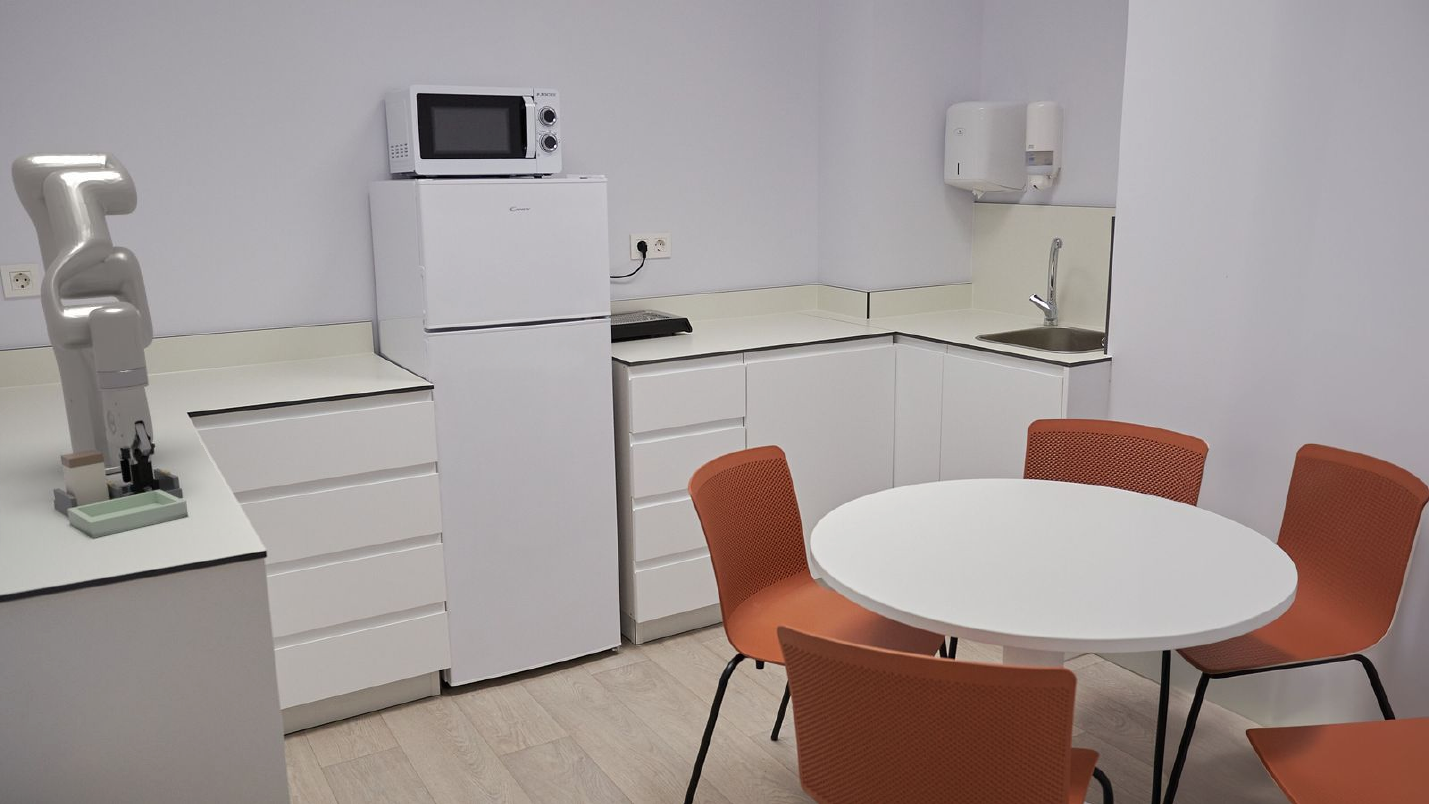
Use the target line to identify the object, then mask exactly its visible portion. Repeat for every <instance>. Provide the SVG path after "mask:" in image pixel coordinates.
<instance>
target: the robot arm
mask: <svg viewBox="0 0 1429 804" xmlns="http://www.w3.org/2000/svg"><path fill="white" fill-rule="evenodd" d="M10 171H11V179H12V183H13V186H14V190H15V193H16V194H17V197H18V199H19V201H20V204H21V205H22V206H23V209H24V210H25V212H26V213H27V215H28V216H29V219H30V220H31V221H32V223H33V227H35V232H36V234H37V235H36V236H37V239H38V240H37V241H38V245H39V251H40V255H41V260H42V265H43V270H44V276H43V277H42V281H41V286H40V302H41V308H42V311H43V316H44V320H45V324H46V329H47V336H48V339H49V342H50V345H51V347H52V351H53V354H54V356H55V360H56V364H57V367H58V372H59V376H60V382H61V387H62V393H63V399H64V406H65V412H66V419H67V425H68V430H69V438H70V442H71V449H72V453H78V452H83V451H89V450H96V451H99V452H101V453H103V458H104V467H105V474H106V475H110V474H116V473H120V472H121V476H122V481H123V483H125V484H127V483H131V481H132V480H133V483H132V484H133V486H134V487H136V488H138V487H143V486H147V485H152V484H154V479H155V478H154V471H153V465H152V457H151V456H152V455H150V450H151V446H150V444H151V443H153V442H154V428H153V423H152V422H153V421H152V417H151V412H150V407H149V402H148V397H147V393H146V389H145V387H146V388H147V387H149V385H150V384H149V383H150V381H149V376H148V369H147V362H146V356H145V349H147V348H148V347H150V345H151V344H152V343H153V339H154V330H153V322H152V316H151V312H150V307H149V301H148V298H147V292H146V287H145V283H144V278H143V277H144V276H143V272H142V268H141V265H140V263H139V260H138V257H137V256H136V255H135V253H134V252H133V251H132V250H131V249H129V248H128V247H125V246H114V244H113V241H112V240H113V239H112V236H111V233H110V231H109V226H108V222H107V220H106V216H124V215H130V214H132V213H134V212H135V210H136V208H137V204H138V195H137V188H136V185H135V182H134V180H133V178H132V176H131V174H130V173H129V171H128V169H127V168H126V167H125V165H124V164H122V162H121V161H120V160H119V159H118V157H117V156H116V155H114V154H113V153H110V152H108V151H107V152H106V151H44V152H43V151H42V152H41V151H40V152H32V153H27V154H22V155H20V156H18V157H17V158H15V159H14V160H13V161H12V164H11V170H10ZM106 297H107V298H109V297H110V298H111V297H113V298H116V299H117V300H118V301H111V302H110V301H109V302H97V303H96V302H95V303H85V304H73V305H63V303H62V300H67V301H68V300H69V301H70V300H86V299H99V298H106ZM135 442H139V445H136V446H133V443H135ZM128 447H129V451H130V456H131V460H132V465H129V460H128V458H124V457H123V454H122V452H121V451H120V448H123V449H127V448H128ZM135 449H140V450H137V452H136V453H135ZM130 467H131V473H130ZM131 474H132V480H131Z"/></svg>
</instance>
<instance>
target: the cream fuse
mask: <svg viewBox="0 0 1429 804" xmlns="http://www.w3.org/2000/svg"><path fill="white" fill-rule="evenodd" d="M60 460H61V461H60V462H61V466H62V471H63V476H64V483H65V489H66V493H68V494H70V495H72V496H74V497H75V498H76V500H77V506H78V507H79V506H84V505H88V504H93V503H98V502H103V501H107V500H110V499H109V493H108V486H107V482H108V480H107V474H105V467H104V458H103V453H101V452H99V451H96V450H89V451H83V452H78V453H73V452H72V453H66V454H61V455H60Z"/></svg>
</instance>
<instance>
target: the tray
mask: <svg viewBox="0 0 1429 804" xmlns="http://www.w3.org/2000/svg"><path fill="white" fill-rule="evenodd" d="M67 510H68V516H67V517H68V521H69V525H70V526H72V527H74V528H75V529H77V530H79V531H80V532H82V533H84V534H86V535H87V536H89V537H90V538H92V539H96V538H101V537H105V536H108V535H109V536H110V535H113V534H117V533H121V532H122V533H123V532H126V531H130V530H131V531H132V530H134V529H139V528H145V527H147V526H152V525H156V524H157V525H158V524H160V523H165V522H169V521H173V520H178V519H183V518H186V517H187V518H188V517H189V513H188V507H187V501H186V500H184V499H182V498H177V497H175V496H173V495H171V494H168V493H166V492H164V491H162V490H160V489H159V490H155V491H150V492H145V493H140V494H136V495H131V496H129V495H126V496H123V497H122V498H117V499H112V500H107V501H103V502H98V503H93V504H88V505H84V506H79V507H74V508H70V509H67Z"/></svg>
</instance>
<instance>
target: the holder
mask: <svg viewBox="0 0 1429 804" xmlns="http://www.w3.org/2000/svg"><path fill="white" fill-rule="evenodd" d="M152 470H153V477H154V479H157V480H159V487H160V490H162V491H164V492H166V493H168V494H171V495H173V496H175V497H177V498H180V499H182V498H184V494H183V489H182V488H181V487H180V482H179V481H180V480H179V476H178V475H174V474H172V473H171V471H168V470H167V469H164V470H163V469H160V468H154V469H153V468H152ZM130 484H131V483H130ZM130 484H124V485H120V486H118V485H115V482H112V481H110V480H107V486H108V493H109V499H110V500H112V499H117V498H122V497H124V495H123V494H126V493H128V485H130ZM52 490H53V495H54V499H53V504H54V509H55V510H56V511H59V512H60V513H62V514H63V515H66V516H67V517H69V516H68V510H67V509H70V508H74V507H78V506H77V500H76V498H75V497H74V496H72V495H70V494H68V493H67V491H64V490H63V489H61V488H54V489H52ZM126 496H128V495H127V494H126Z"/></svg>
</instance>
